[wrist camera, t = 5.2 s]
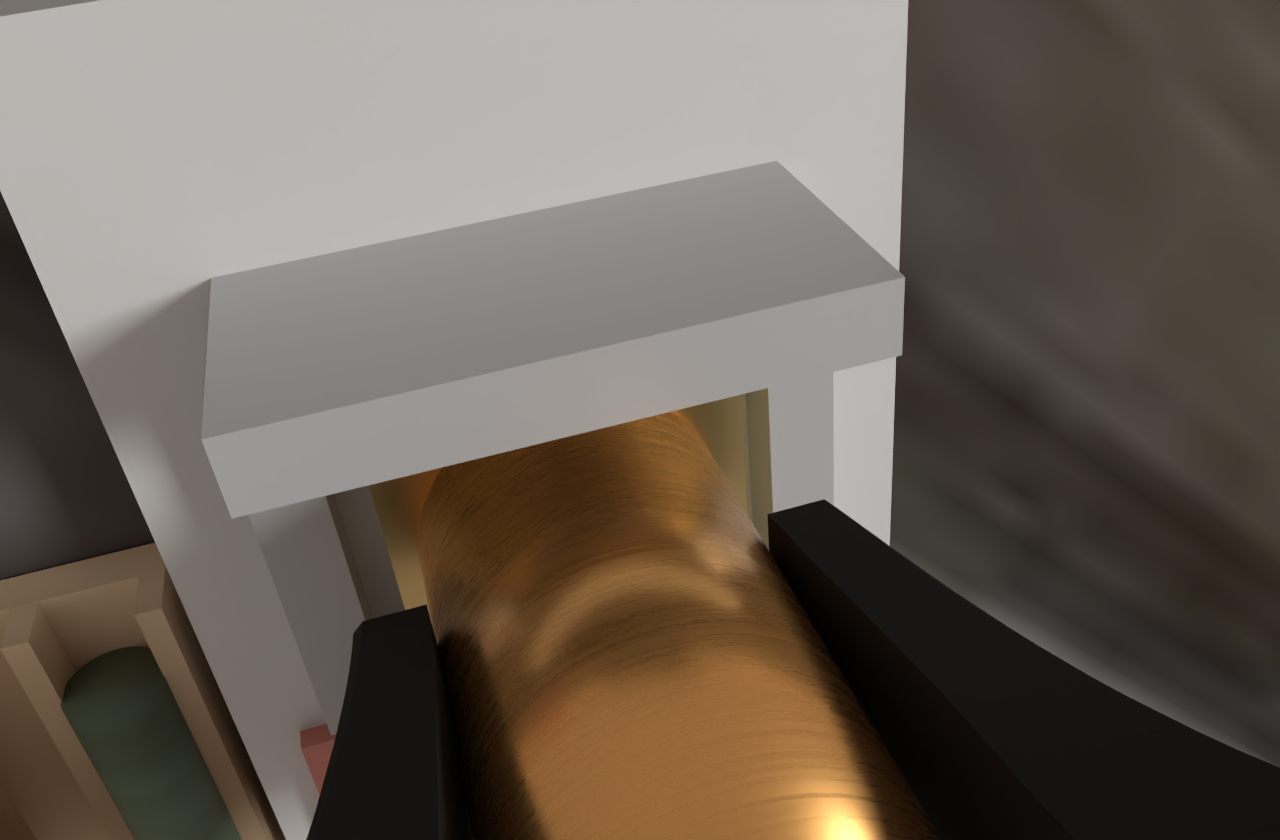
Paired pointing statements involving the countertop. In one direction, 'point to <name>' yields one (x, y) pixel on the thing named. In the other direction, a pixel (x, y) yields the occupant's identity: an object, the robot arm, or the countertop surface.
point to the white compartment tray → (445, 272)
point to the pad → (407, 494)
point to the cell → (639, 655)
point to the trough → (116, 713)
